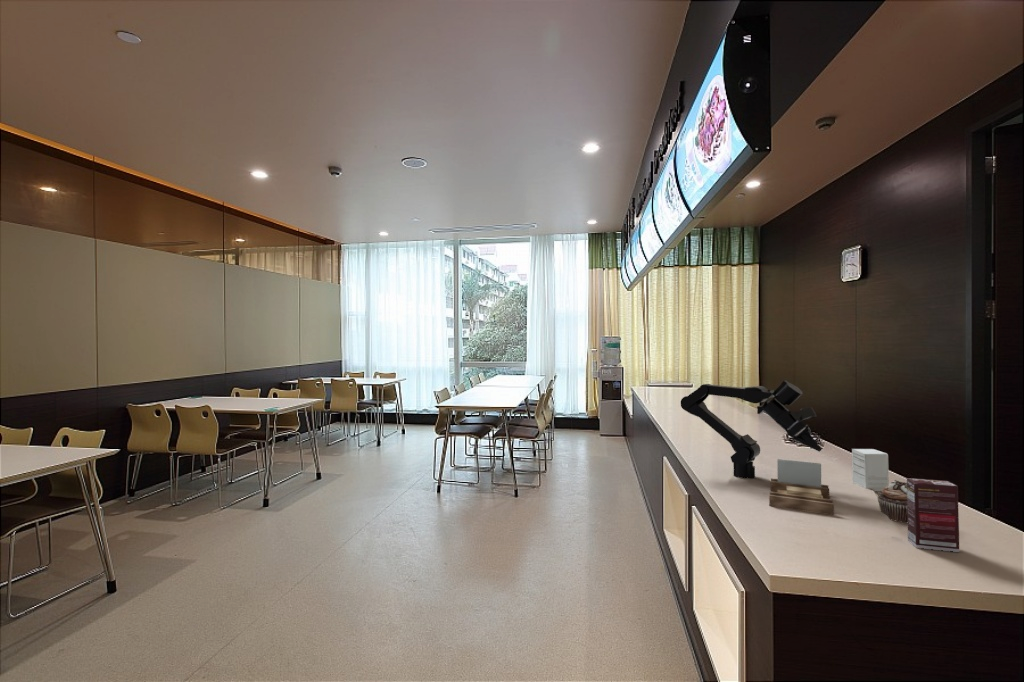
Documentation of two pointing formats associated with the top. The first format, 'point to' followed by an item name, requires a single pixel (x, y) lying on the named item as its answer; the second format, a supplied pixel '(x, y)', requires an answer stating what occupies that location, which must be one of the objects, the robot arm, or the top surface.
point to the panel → (799, 472)
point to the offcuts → (802, 492)
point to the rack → (800, 498)
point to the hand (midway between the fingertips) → (820, 450)
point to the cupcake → (894, 501)
